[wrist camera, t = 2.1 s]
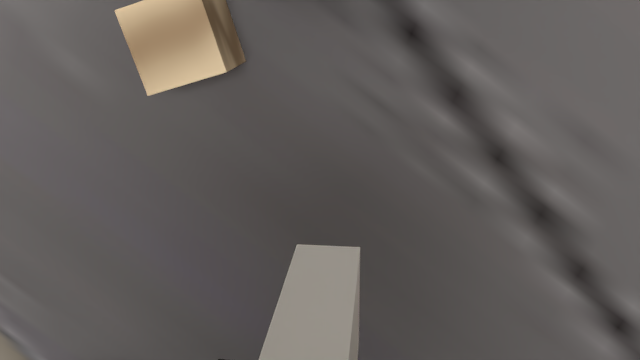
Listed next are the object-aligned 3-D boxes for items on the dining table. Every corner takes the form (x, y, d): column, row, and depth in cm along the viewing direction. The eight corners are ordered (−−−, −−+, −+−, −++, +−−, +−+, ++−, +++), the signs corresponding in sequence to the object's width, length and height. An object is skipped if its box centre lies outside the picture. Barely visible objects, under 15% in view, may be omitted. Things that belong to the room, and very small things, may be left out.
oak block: (246, 61, 36) (226, 72, 32) (177, 82, 37) (147, 95, 33) (220, -17, 35) (195, -17, 30) (149, 7, 36) (114, 10, 31)
